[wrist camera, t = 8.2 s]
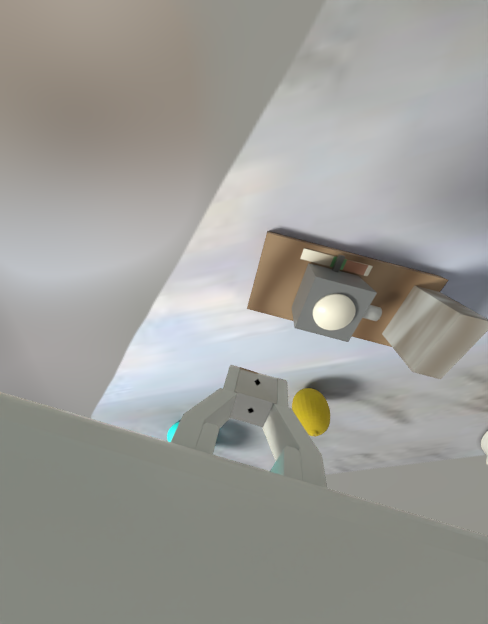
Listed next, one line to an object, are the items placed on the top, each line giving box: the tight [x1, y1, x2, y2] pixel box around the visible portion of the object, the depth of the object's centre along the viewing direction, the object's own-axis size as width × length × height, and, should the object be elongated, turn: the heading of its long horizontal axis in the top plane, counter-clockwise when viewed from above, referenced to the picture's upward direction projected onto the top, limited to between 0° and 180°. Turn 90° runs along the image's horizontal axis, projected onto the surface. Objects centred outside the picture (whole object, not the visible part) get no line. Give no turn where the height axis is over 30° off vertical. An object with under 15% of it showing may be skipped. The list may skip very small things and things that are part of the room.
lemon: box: [292, 388, 330, 436], centre depth 33 cm, size 6×6×8 cm
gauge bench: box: [247, 231, 488, 379], centre depth 24 cm, size 21×10×8 cm, turn 77°
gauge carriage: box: [292, 254, 382, 342], centre depth 23 cm, size 9×8×5 cm
